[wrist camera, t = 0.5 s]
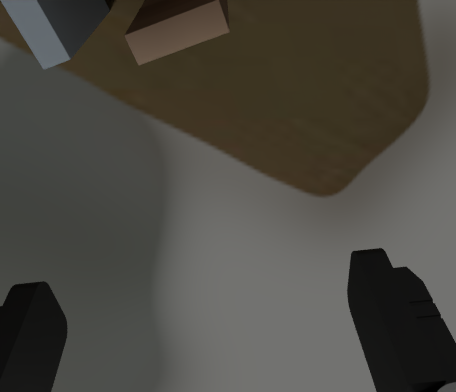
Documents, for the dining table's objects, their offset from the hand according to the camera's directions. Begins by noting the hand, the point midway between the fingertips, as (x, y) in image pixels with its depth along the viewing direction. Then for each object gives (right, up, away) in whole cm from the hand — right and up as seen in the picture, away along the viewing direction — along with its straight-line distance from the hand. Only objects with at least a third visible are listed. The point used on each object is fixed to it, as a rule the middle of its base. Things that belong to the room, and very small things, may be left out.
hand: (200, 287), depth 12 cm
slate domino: (-9, +17, +17) cm, 26 cm away
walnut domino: (-2, +16, +18) cm, 25 cm away
